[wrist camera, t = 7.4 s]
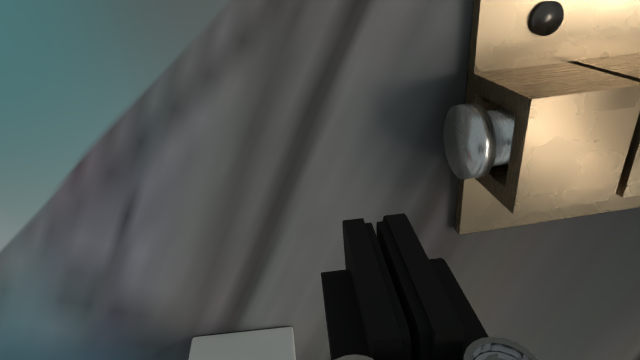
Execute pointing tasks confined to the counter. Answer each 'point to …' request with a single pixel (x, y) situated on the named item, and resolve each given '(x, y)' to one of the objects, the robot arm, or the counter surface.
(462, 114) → the pin
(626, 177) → the hinge
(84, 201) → the counter surface
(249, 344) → the milk
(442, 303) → the robot arm
